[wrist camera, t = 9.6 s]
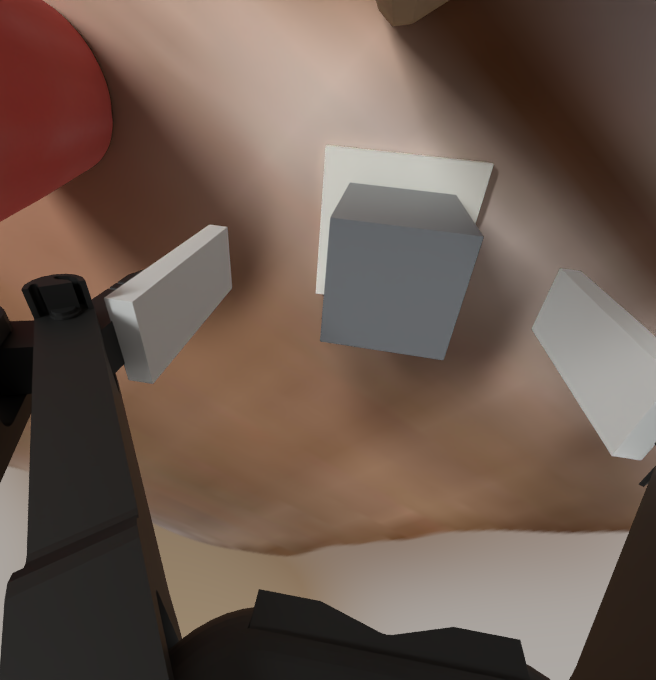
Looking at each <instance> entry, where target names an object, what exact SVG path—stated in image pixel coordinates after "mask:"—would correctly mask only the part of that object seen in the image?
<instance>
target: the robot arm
mask: <svg viewBox="0 0 656 680" xmlns="http://www.w3.org/2000/svg"><path fill="white" fill-rule="evenodd" d="M231 289H232V279H231V266H230V253H229V240H228V227H225V226H217V225H208V226H207V227H205V228H204V229H202V230H201V231H199V232H198V233H197V234H195V235H194V236H192V237H191V238H189V239H188V240H186V241H185V242H184V243H182V244H181V245H179V246H178V247H176V248H175V249H174V250H172V251H171V252H169V253H168V254H166V255H165V256H163V257H162V258H161V259H159V260H158V261H156V262H155V263H153V264H152V265H151V266H149V267H148V268H146V269H145V270H141V271H138V272H135V273H132V274H130V275H128V276H126V277H125V278H123V279H122V280H120V281H119V282H118V283H116V284H114V285H113V286H111V287H110V289H107V290H105V291H104V292H102V293H101V294H99V295H98V296H96V297H95V298H93V299H92V300H91V297H90V294H89V291H88V288H87V285H86V282H85V280H84V279H83V277H81V276H78V275H73V274H56V275H49V276H44V277H40V278H38V279H35V280H32V281H30V282H28V283H27V284H25V285H24V286H23V288H22V289H21V290H22V292H23V294H24V297H25V299H26V301H27V303H28V306H29V308H30V310H31V312H32V315H33V317H34V321H9V319H8V317H7V315H6V313H5V311H4V309H3V308H2V307H1V306H0V482H1V480H2V478H3V475H4V473H5V471H6V469H7V466H8V464H9V462H10V460H11V457H12V455H13V453H14V451H15V448H16V446H17V444H18V442H19V439H20V437H21V435H22V433H23V430H24V428H25V426H26V423H27V421H28V419H29V417H30V414H31V440H30V472H29V504H28V506H29V507H28V537H27V558H26V564H25V566H24V568H23V569H21V570H18V571H16V572H14V573H13V574H12V575H11V577H10V580H9V581H8V584H7V589H6V596H5V603H4V617H3V632H2V645H1V660H0V680H550V679H549V678H548V677H546V676H544V675H543V674H541V673H540V672H538V671H536V670H535V669H534V668H532V667H531V666H529V665H527V664H526V661H525V657H524V653H523V649H522V645H521V641H520V640H517V639H513V638H508V637H502V636H497V635H492V634H487V633H482V632H477V631H471V630H466V629H461V628H456V627H451V628H443V629H435V630H428V631H421V632H412V633H405V634H397V635H386V634H382V633H380V632H378V631H376V630H374V629H372V628H370V627H368V626H367V625H365V624H363V623H361V622H359V621H357V620H355V619H353V618H351V617H350V616H348V615H346V614H344V613H342V612H340V611H338V610H336V609H334V608H332V607H331V606H329V605H327V604H325V603H323V602H321V601H317V600H311V599H307V598H301V597H296V596H291V595H286V594H281V593H276V592H270V591H265V590H260V589H259V591H258V595H257V599H256V602H255V606H254V607H253V608H247V609H241V610H237V611H234V612H231V613H227V614H225V615H222V616H220V617H218V618H215V619H213V620H211V621H209V622H207V623H206V624H204V625H202V626H200V627H198V628H197V629H195V630H193V631H192V632H191V633H189V634H188V635H187V636H185V637H184V638H183V639H182V637H181V633H180V629H179V626H178V622H177V618H176V615H175V611H174V608H173V605H172V601H171V598H170V594H169V590H168V587H167V582H166V578H165V574H164V570H163V565H162V562H161V557H160V553H159V549H158V545H157V541H156V537H155V533H154V528H153V524H152V520H151V516H150V512H149V507H148V503H147V499H146V495H145V491H144V487H143V483H142V478H141V474H140V470H139V466H138V462H137V458H136V454H135V449H134V445H133V441H132V437H131V433H130V429H129V425H128V420H127V416H126V412H125V408H124V404H123V400H122V396H121V391H120V387H119V383H118V380H117V377H116V374H115V373H116V372H117V371H118V370H119V369H120V368H121V367H122V366H123V365H124V366H125V370H126V373H127V376H128V379H129V380H132V381H139V382H145V383H151V384H153V383H154V382H155V381H156V380H157V378H158V377H159V376H160V375H161V374H162V372H163V371H164V370H165V369H166V368H167V366H168V365H169V364H170V363H171V361H172V360H173V359H174V358H175V357H176V355H177V354H178V353H179V352H180V351H181V349H182V348H183V347H184V346H185V345H186V343H187V342H188V341H189V340H190V339H191V337H192V336H193V335H194V334H195V332H196V331H197V330H198V329H199V328H200V326H201V325H202V324H203V323H204V322H205V320H206V319H207V318H208V317H209V316H210V314H211V313H212V312H213V311H214V310H215V308H216V307H217V306H218V305H219V303H220V302H221V301H222V300H223V299H224V297H225V296H226V295H227V294H228V293H229V291H230V290H231ZM532 331H533V332H534V334H535V335H536V337H537V338H538V340H539V342H540V343H541V345H542V346H543V348H544V350H545V351H546V353H547V354H548V356H549V357H550V359H551V361H552V362H553V364H554V365H555V367H556V369H557V370H558V372H559V373H560V375H561V376H562V378H563V380H564V381H565V383H566V384H567V386H568V388H569V389H570V391H571V392H572V394H573V395H574V397H575V399H576V400H577V402H578V403H579V405H580V406H581V408H582V410H583V411H584V413H585V414H586V416H587V418H588V419H589V421H590V422H591V424H592V425H593V427H594V429H595V430H596V432H597V433H598V435H599V437H600V438H601V440H602V441H603V443H604V444H605V446H606V448H607V449H608V451H609V452H610V454H611V456H615V457H622V458H628V459H635V460H642V459H643V458H644V457H645V456H646V454H647V453H648V452H649V451H650V450H651V449H652V448H653V447H654V446H655V445H656V336H654V335H653V334H652V333H651V332H650V331H649V330H648V329H647V328H645V327H644V326H643V325H642V324H641V323H640V322H639V321H637V320H636V319H635V318H634V317H633V316H632V315H631V314H629V313H628V312H627V311H626V310H625V309H624V308H623V307H621V306H620V305H619V304H618V303H617V302H616V301H615V300H614V299H612V298H611V297H610V296H609V295H608V294H607V293H606V292H604V291H603V290H602V289H601V288H600V287H599V286H598V285H596V284H595V283H594V282H593V281H592V280H591V279H590V278H588V277H587V276H586V275H585V274H584V273H583V272H582V271H579V270H571V269H563V268H560V269H559V271H558V274H557V276H556V278H555V280H554V282H553V284H552V286H551V288H550V291H549V293H548V295H547V297H546V299H545V301H544V303H543V305H542V307H541V310H540V312H539V314H538V316H537V318H536V320H535V322H534V324H533V327H532ZM647 484H648V486H647V488H646V491H645V493H644V496H643V498H642V501H641V503H640V506H639V508H638V511H637V514H636V516H635V519H634V521H633V524H632V526H631V529H630V531H629V534H628V537H627V539H626V541H625V544H624V547H623V549H622V552H621V554H620V557H619V559H618V562H617V564H616V567H615V570H614V572H613V575H612V577H611V580H610V582H609V585H608V587H607V590H606V592H605V595H604V598H603V600H602V602H601V605H600V608H599V610H598V612H597V615H596V618H595V620H594V623H593V625H592V628H591V630H590V633H589V635H588V638H587V640H586V643H585V646H584V648H583V651H582V653H581V656H580V658H579V661H578V663H577V666H576V668H575V670H574V672H573V674H572V676H571V677H570V679H569V680H656V466H655V467H654V468H653V469H652V470H651V471H650V472H649V473H648V475H647V476H646V477H645V478H644V479H643V480H642V481H641V482H640V483H639V485H641V486H643V487H644V486H645V485H647Z"/></svg>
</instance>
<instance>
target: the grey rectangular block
mask: <svg viewBox="0 0 656 680" xmlns="http://www.w3.org/2000/svg"><path fill="white" fill-rule="evenodd" d="M483 237H484V236H483V235H482V233H481V232H480V230H479V229H478V227H477V226H476V224H475V223H474V221H473V220H472V218H471V217H470V215H469V214H468V212H467V211H466V209H465V208H464V206H463V205H462V203H461V202H460V200H459V199H458V197H457V195H453V194H445V193H436V192H427V191H419V190H410V189H402V188H393V187H384V186H376V185H367V184H359V183H349V185H348V187H347V189H346V190H345V192H344V194H343V196H342V197H341V199H340V201H339V203H338V205H337V206H336V208H335V210H334V212H333V214H332V215H331V217H330V227H329V239H328V251H327V263H326V276H325V288H324V300H323V312H322V324H321V337H320V341H321V342H328V343H334V344H341V345H347V346H354V347H360V348H367V349H373V350H380V351H386V352H393V353H399V354H406V355H412V356H419V357H425V358H432V359H438V360H444V357H445V354H446V351H447V348H448V345H449V342H450V339H451V336H452V333H453V329H454V326H455V323H456V320H457V317H458V314H459V311H460V308H461V305H462V302H463V299H464V296H465V293H466V290H467V287H468V283H469V280H470V277H471V274H472V271H473V268H474V265H475V262H476V259H477V256H478V253H479V250H480V247H481V244H482V241H483Z"/></svg>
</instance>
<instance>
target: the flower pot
mask: <svg viewBox="0 0 656 680" xmlns="http://www.w3.org/2000/svg"><path fill="white" fill-rule="evenodd" d="M112 129H113V119H112V113H111V100H110V95H109V91H108V87H107V84H106V81H105V78H104V76H103V73H102V71H101V69H100V67H99V65H98V63H97V61H96V59H95V57H94V55H93V53H92V52H91V50H90V48H89V47H88V45H87V44H86V42H85V41H84V40H83V38H82V37H81V36H80V34H79V33H78V32H77V31H76V30H75V28H74V27H73V26H72V25H71V24H70V23H69V22H68V21H67V20H66V19H65V18H64V17H63V16H62V15H61V14H60V13H58V12H57V11H56V10H55V9H54V8H53V7H51V6H50V5H48V4H47V3H45V2H44V1H43V0H0V222H1V221H2V220H4V219H6V218H8V217H9V216H11V215H13V214H15V213H16V212H18V211H20V210H22V209H24V208H25V207H27V206H29V205H31V204H32V203H34V202H36V201H38V200H40V199H41V198H43V197H45V196H46V195H48V194H50V193H51V192H53V191H55V190H56V189H58V188H59V187H61V186H63V185H64V184H66V183H67V182H69V181H71V180H72V179H74V178H75V177H77V176H79V175H80V174H82V173H84V172H85V171H87V170H89V169H90V168H92V167H93V166H95V165H96V164H97V163H98V162H99V161H100V160H101V159H102V157H103V156H104V154H105V153H106V151H107V149H108V147H109V144H110V141H111V136H112Z"/></svg>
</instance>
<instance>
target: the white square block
mask: <svg viewBox="0 0 656 680" xmlns="http://www.w3.org/2000/svg"><path fill="white" fill-rule="evenodd" d="M493 165H494V164H493V163H491V162H483V161H474V160H465V159H456V158H446V157H437V156H428V155H419V154H409V153H400V152H391V151H382V150H372V149H363V148H354V147H345V146H336V145H326V149H325V164H324V179H323V193H322V208H321V223H320V238H319V252H318V267H317V282H316V293H317V294H324V288H325V276H326V263H327V251H328V239H329V227H330V217H331V215H332V214H333V212H334V210H335V208H336V206H337V205H338V203H339V201H340V199H341V197H342V196H343V194H344V192H345V190H346V189H347V187H348V185H349V183H359V184H367V185H376V186H384V187H393V188H402V189H410V190H419V191H427V192H436V193H445V194H453V195H457V197H458V199H459V200H460V202H461V203H462V205H463V206H464V208H465V209H466V211H467V212H468V214H469V215H470V217H471V218H472V220H473V221H474V223H475V224H476V221H477V217H478V214H479V211H480V208H481V204H482V201H483V198H484V195H485V191H486V188H487V185H488V181H489V178H490V175H491V172H492V168H493Z"/></svg>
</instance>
